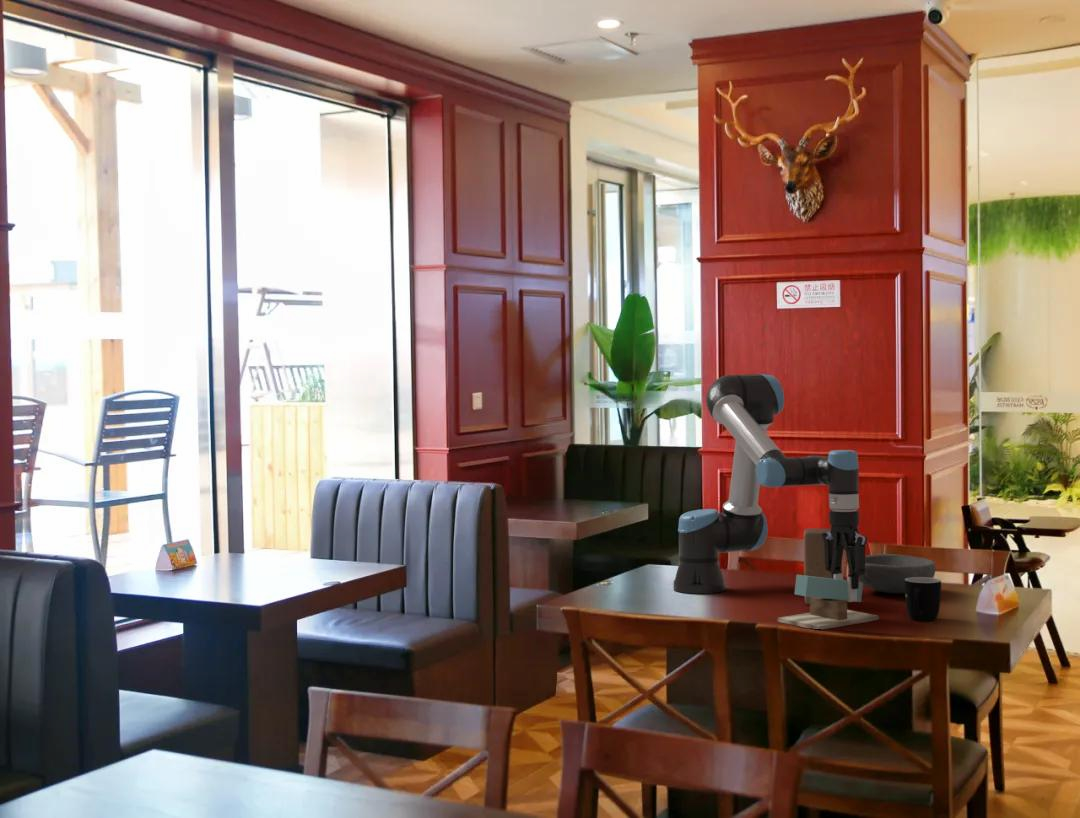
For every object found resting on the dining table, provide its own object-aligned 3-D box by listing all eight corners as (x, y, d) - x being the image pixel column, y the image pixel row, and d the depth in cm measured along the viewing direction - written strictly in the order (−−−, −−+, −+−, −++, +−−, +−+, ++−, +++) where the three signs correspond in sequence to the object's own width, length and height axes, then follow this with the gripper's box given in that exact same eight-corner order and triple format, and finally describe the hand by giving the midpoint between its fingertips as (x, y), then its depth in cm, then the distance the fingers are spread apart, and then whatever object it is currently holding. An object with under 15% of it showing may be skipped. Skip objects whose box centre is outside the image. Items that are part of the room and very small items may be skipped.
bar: (794, 594, 318) (796, 574, 319) (849, 600, 329) (851, 580, 330) (805, 596, 315) (808, 576, 315) (860, 602, 326) (863, 582, 326)
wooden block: (842, 606, 342) (841, 532, 342) (804, 605, 344) (804, 532, 344) (841, 599, 352) (840, 528, 352) (804, 599, 354) (803, 528, 354)
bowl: (906, 603, 345) (906, 566, 345) (838, 593, 362) (837, 558, 362) (951, 592, 361) (951, 557, 360) (883, 583, 378) (883, 550, 377)
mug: (909, 614, 329) (909, 576, 328) (945, 617, 324) (944, 578, 324) (897, 622, 318) (897, 582, 318) (933, 625, 314) (933, 585, 314)
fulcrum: (777, 621, 322) (777, 600, 322) (837, 611, 334) (837, 591, 334) (818, 630, 311) (817, 608, 310) (878, 619, 323) (878, 598, 323)
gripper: (809, 508, 330) (810, 597, 331) (859, 513, 316) (860, 606, 316) (829, 506, 334) (830, 594, 335) (879, 511, 320) (881, 602, 321)
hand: (845, 599), depth 326 cm, fingers closed on bar, 4 cm apart
